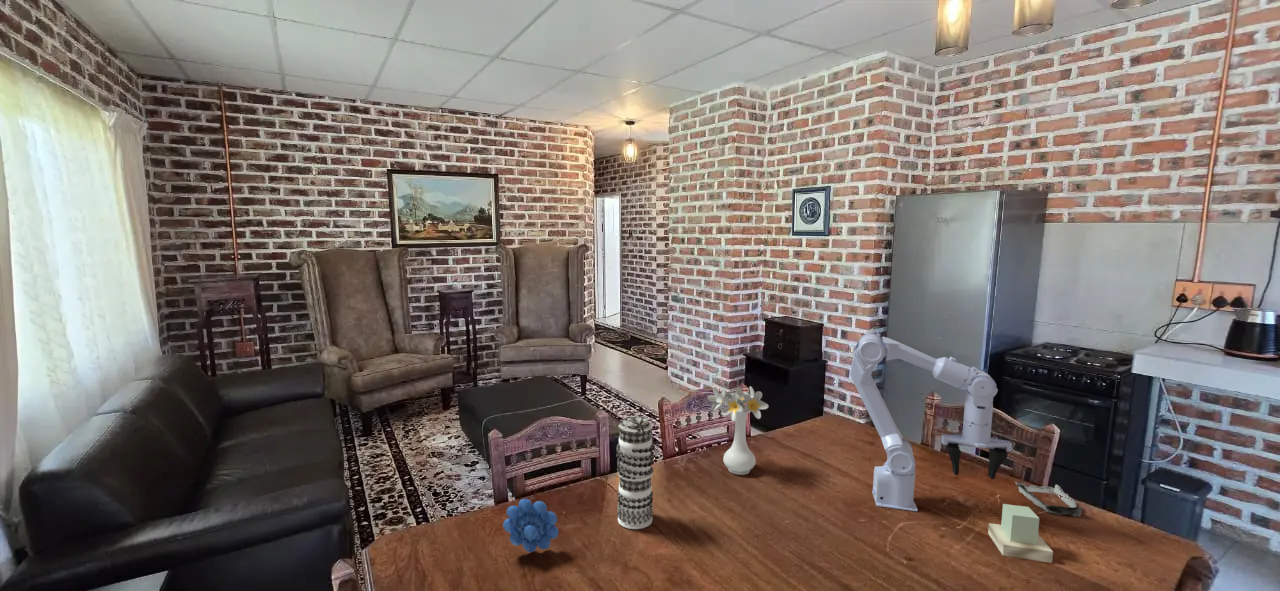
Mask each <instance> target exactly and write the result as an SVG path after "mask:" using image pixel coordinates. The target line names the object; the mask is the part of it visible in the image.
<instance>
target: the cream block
mask: <svg viewBox="0 0 1280 591" xmlns="http://www.w3.org/2000/svg"><path fill="white" fill-rule="evenodd" d="M987 530H988V531H987V534H988V535H989V537H990V539H991V540H992V542H993V543H994V544H995V546H996V547H997V549H998V551H999V552H1000V554H1001V555H1002V556H1003V557H1009V558H1017V559H1021V560H1022V559H1024V560H1029V561H1035V562H1036V561H1038V562H1041V563H1043V562H1044V563H1051V564H1053V558H1054V557H1053V556H1054V551H1053V550H1052V549H1051V547H1050V546H1049V545H1048V543H1046V541H1045V540H1044V539H1043V537H1041V535H1039V534H1040V533H1038V539H1037V545H1034V544H1027V543H1019V542H1012V541H1010V540H1009V539H1008V538H1007V536H1006V535H1005V534H1004V533H1003V531H1002V530H1001V524H997V523H990V522H989V523H988V529H987Z"/></svg>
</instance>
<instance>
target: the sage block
mask: <svg viewBox="0 0 1280 591" xmlns="http://www.w3.org/2000/svg"><path fill="white" fill-rule="evenodd" d="M1000 525H1001V530H1002V531H1003V533H1004V534H1005V535H1006V536H1007V538H1008V539H1009V540H1010V541H1012V542H1019V543H1027V544H1034V545H1037V539H1038V534H1039V529H1040V528H1039V527H1040V517H1039V516H1038V515H1037V514H1036V513H1035V512H1034V511H1033V509H1031V508H1030V507H1029V506H1023V505H1013V504H1007V503H1003V504H1002V512H1001V523H1000Z"/></svg>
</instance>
